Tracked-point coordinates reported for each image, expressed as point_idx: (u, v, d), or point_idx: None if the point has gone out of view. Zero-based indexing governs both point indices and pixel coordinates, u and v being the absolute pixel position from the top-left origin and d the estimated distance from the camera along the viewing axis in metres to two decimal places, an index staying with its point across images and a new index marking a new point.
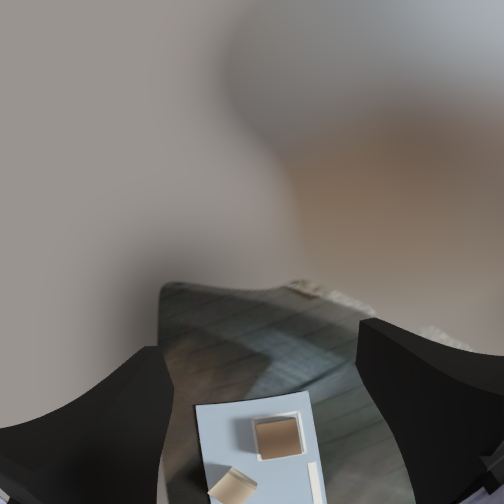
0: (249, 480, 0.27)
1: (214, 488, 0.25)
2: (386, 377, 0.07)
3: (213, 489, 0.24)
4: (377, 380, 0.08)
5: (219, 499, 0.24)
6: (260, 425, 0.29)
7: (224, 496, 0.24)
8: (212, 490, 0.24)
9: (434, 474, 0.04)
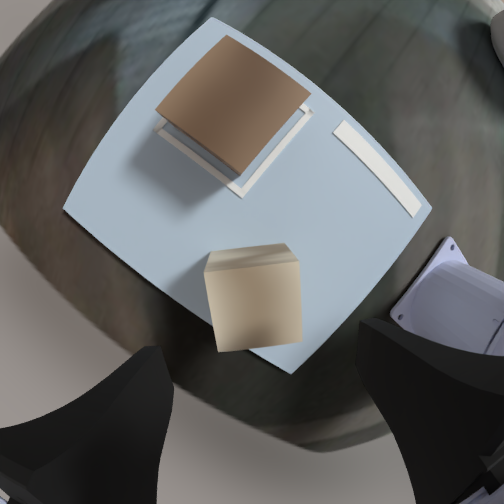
0: (265, 250, 0.15)
1: (219, 331, 0.13)
2: (386, 377, 0.07)
3: (220, 334, 0.13)
4: (377, 380, 0.08)
5: (252, 344, 0.14)
6: (164, 102, 0.11)
7: (253, 330, 0.13)
8: (220, 338, 0.13)
9: (435, 474, 0.04)
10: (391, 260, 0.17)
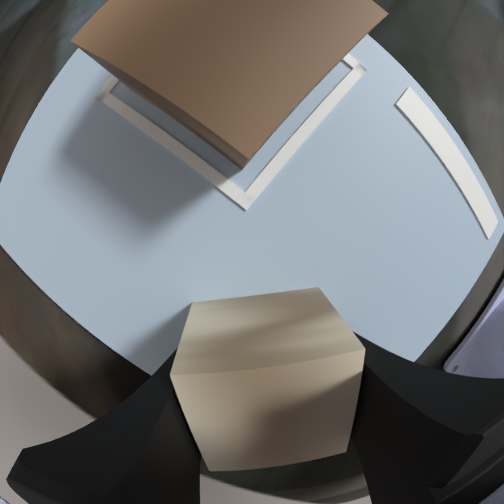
0: (289, 307, 0.08)
1: (209, 451, 0.06)
2: None
3: (210, 454, 0.06)
4: None
5: (265, 463, 0.07)
6: (89, 24, 0.03)
7: (269, 450, 0.06)
8: (212, 458, 0.06)
9: (389, 495, 0.04)
10: (459, 300, 0.10)
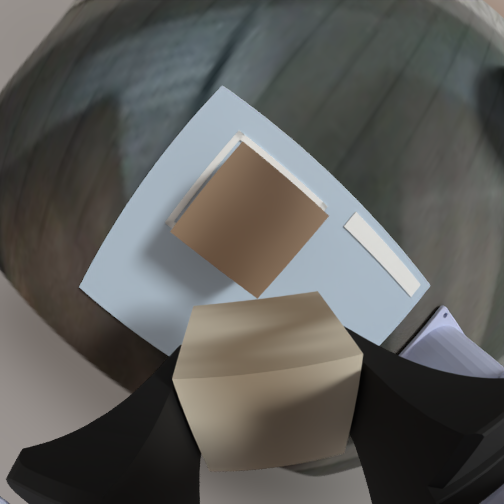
0: (288, 312, 0.08)
1: (209, 452, 0.06)
2: None
3: (211, 455, 0.06)
4: None
5: (265, 464, 0.07)
6: (179, 224, 0.12)
7: (268, 451, 0.06)
8: (213, 459, 0.07)
9: (390, 495, 0.04)
10: (386, 334, 0.18)
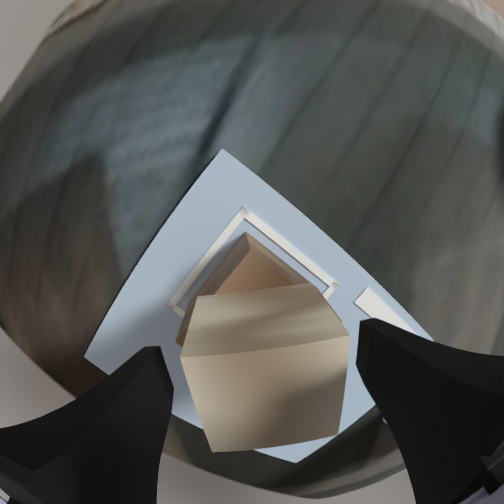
0: (284, 300, 0.09)
1: (212, 431, 0.07)
2: (386, 377, 0.07)
3: (214, 434, 0.07)
4: (377, 380, 0.08)
5: (263, 444, 0.08)
6: (184, 336, 0.11)
7: (267, 430, 0.07)
8: (215, 438, 0.07)
9: (435, 473, 0.04)
10: None
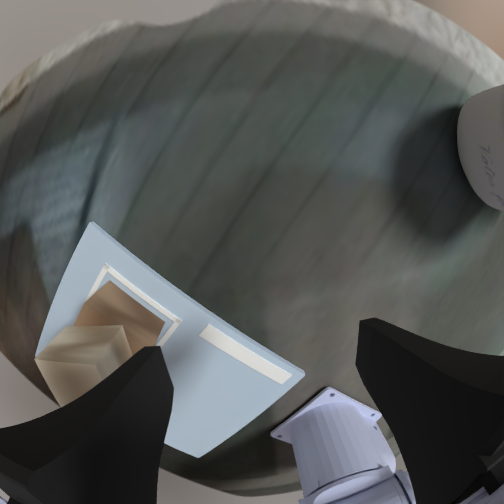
0: (96, 336, 0.13)
1: (60, 402, 0.11)
2: (386, 377, 0.07)
3: (62, 405, 0.11)
4: (377, 380, 0.08)
5: None
6: None
7: None
8: None
9: (435, 473, 0.04)
10: (262, 408, 0.21)
